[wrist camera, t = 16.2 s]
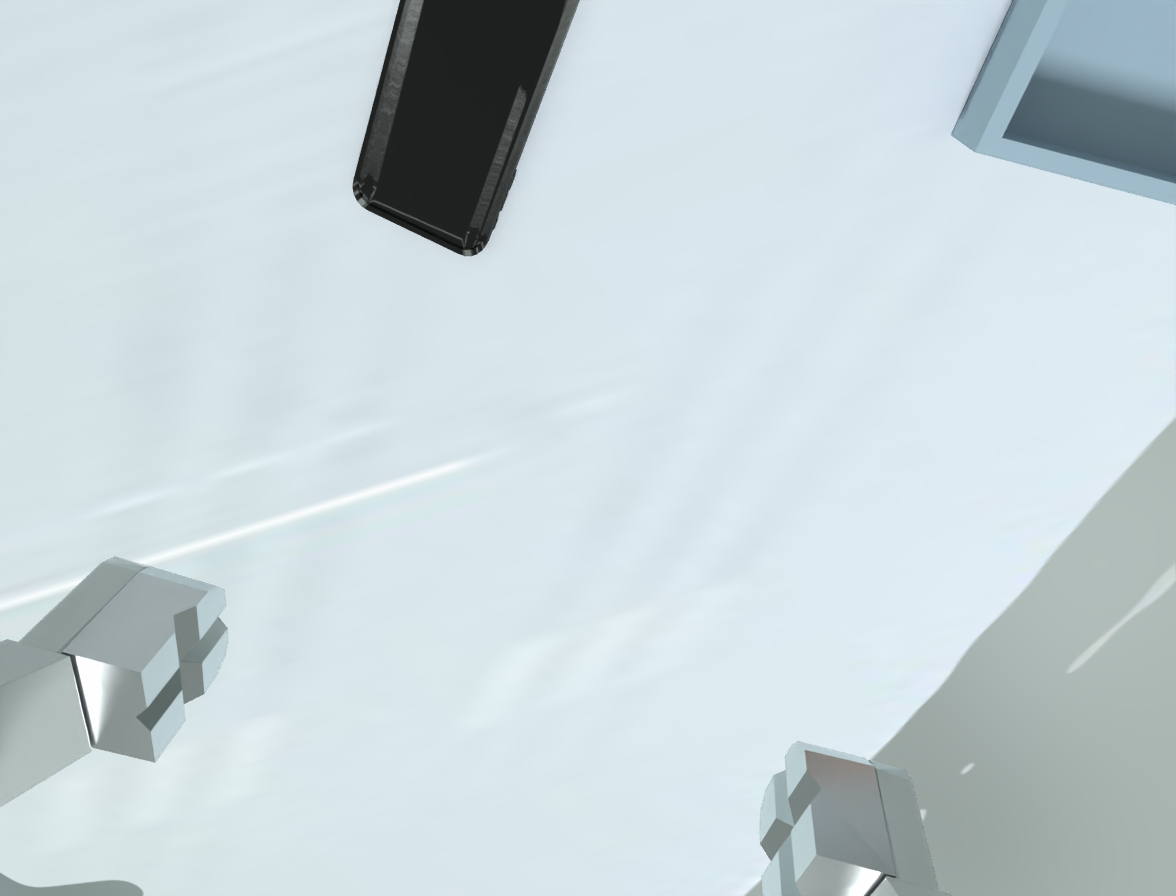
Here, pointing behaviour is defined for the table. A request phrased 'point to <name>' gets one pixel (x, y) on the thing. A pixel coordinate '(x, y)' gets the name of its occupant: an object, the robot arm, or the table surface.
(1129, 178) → the bin
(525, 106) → the phone
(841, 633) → the table surface
